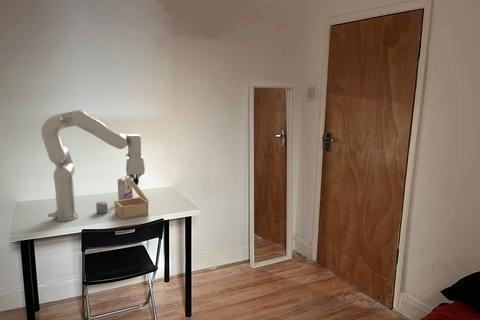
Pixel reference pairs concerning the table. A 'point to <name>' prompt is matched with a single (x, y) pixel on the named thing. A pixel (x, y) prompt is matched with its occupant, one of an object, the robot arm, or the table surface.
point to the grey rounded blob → (101, 208)
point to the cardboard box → (131, 208)
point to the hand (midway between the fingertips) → (135, 184)
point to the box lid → (137, 189)
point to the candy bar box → (124, 188)
